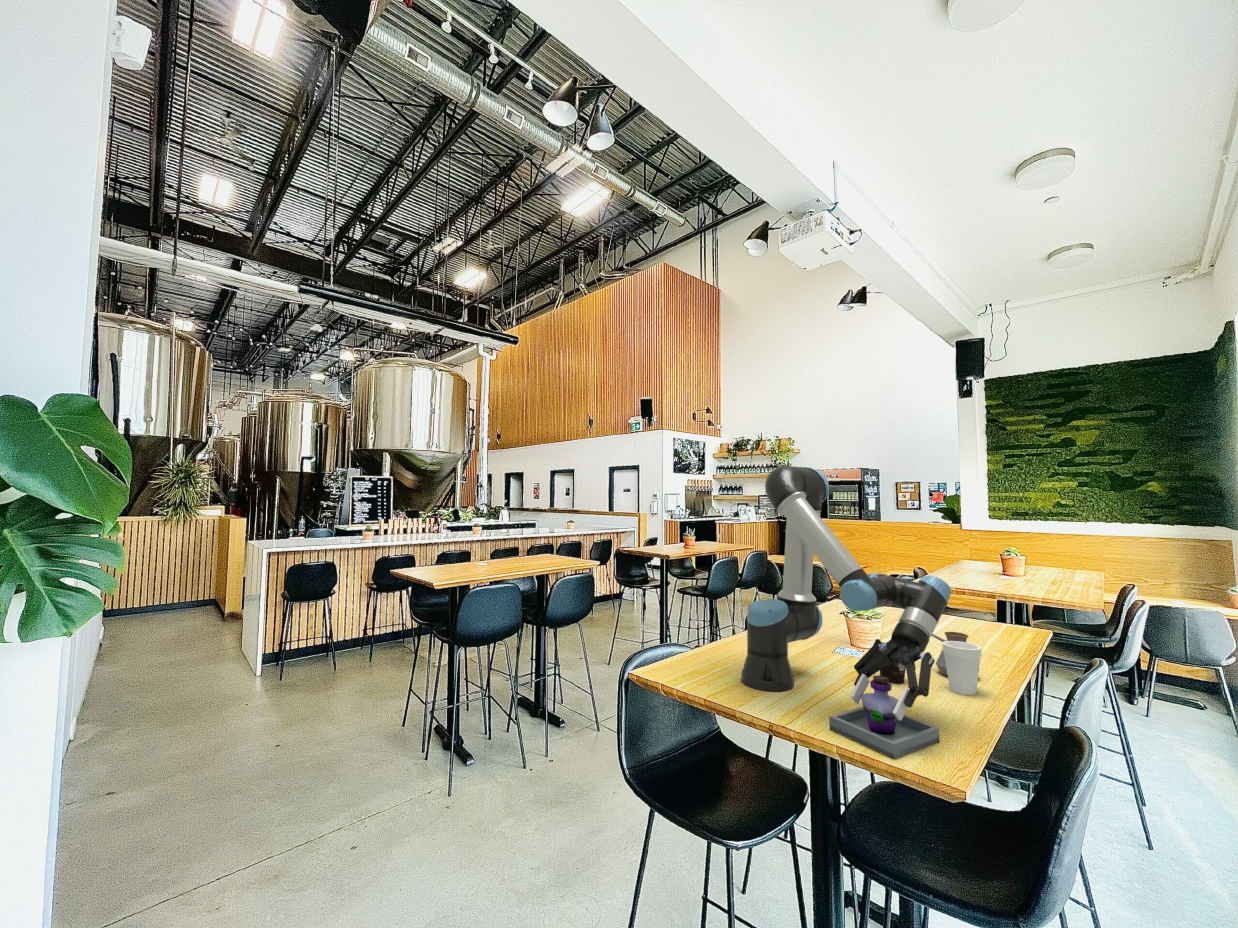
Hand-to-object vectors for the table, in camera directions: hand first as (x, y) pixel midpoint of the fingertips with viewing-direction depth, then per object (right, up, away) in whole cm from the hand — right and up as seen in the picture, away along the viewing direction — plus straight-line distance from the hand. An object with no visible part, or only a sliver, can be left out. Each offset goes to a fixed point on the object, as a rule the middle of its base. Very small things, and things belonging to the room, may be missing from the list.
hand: (874, 708), depth 119 cm
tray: (+2, -7, +1) cm, 7 cm away
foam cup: (+41, -10, +31) cm, 52 cm away
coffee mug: (+23, -10, +39) cm, 47 cm away
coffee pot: (+45, -11, +48) cm, 67 cm away
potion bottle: (+2, -6, +2) cm, 7 cm away
